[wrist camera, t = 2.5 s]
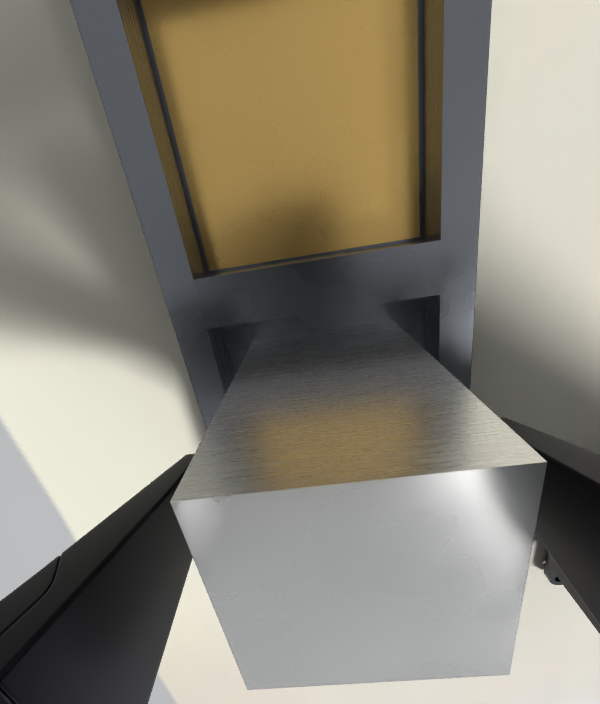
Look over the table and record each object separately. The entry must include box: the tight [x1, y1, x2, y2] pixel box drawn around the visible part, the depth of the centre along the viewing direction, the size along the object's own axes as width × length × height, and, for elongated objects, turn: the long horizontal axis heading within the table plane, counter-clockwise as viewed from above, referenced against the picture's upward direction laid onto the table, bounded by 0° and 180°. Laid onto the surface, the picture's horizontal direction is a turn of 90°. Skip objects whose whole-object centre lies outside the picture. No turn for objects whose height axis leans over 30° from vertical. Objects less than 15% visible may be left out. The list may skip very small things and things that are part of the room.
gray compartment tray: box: [70, 0, 492, 430], centre depth 8 cm, size 9×27×2 cm, turn 9°
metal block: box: [170, 320, 547, 690], centre depth 8 cm, size 5×5×7 cm
